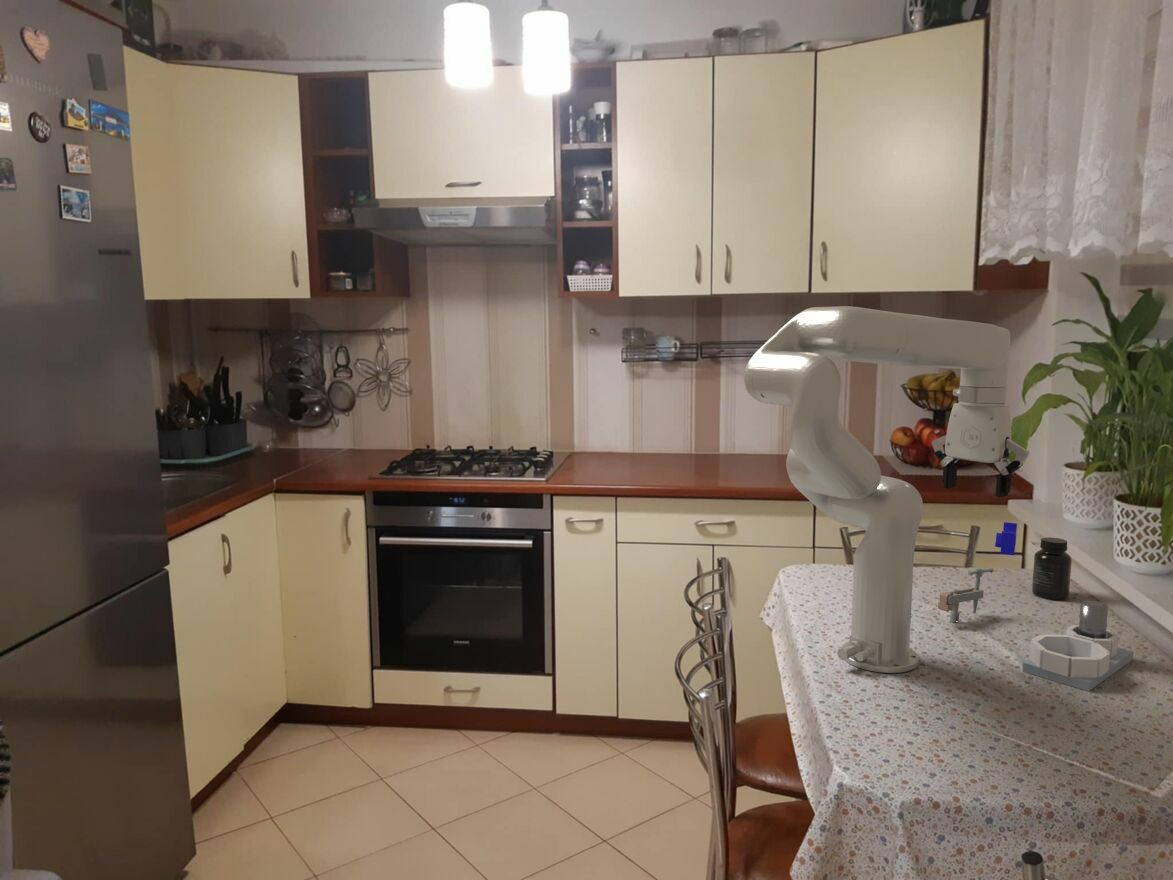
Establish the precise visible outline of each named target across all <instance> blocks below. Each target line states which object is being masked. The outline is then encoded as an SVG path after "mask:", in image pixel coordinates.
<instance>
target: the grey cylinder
mask: <svg viewBox="0 0 1173 880" xmlns="http://www.w3.org/2000/svg"><path fill="white" fill-rule="evenodd" d="M1079 605H1080V607H1079V621H1078V622H1079V624H1078V625H1079V635H1081V636H1085V637H1089V638H1093V639H1106V630H1107V627H1108V625H1107V624H1108V611H1109V605H1108V604H1106V603H1104V602H1101V601H1095V600H1082V601H1080V603H1079Z"/></svg>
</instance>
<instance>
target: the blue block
mask: <svg viewBox="0 0 1173 880" xmlns="http://www.w3.org/2000/svg"><path fill="white" fill-rule="evenodd" d="M1017 526H1018V523H1017V522H1008V521H1007V522H1006V521H1004V522H1003V530H1002V531H1001V532H996V535H995V544H994V547H995V548H1000V554H1001V555H1008V556H1015V552H1016V546H1017V545H1016V543H1017V529H1018V528H1017Z"/></svg>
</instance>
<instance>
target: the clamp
mask: <svg viewBox="0 0 1173 880" xmlns="http://www.w3.org/2000/svg"><path fill="white" fill-rule="evenodd" d="M974 569H975V570H968V572H967V574H968V576H973V575H974V576H975V584H974V587H970V588H969V587H968V588H964V589H963V588H962V589H954V590H952V591H944V592H941V593H940V594H939V602H938V605H937V609H938V610H941V611H943V612H948V613H949V611H951V612H950V617H949V622H950V623H953V622H956V621H959V620H960V612H959V606H960V603H965V602H970V601H972V602H973V603H972V608H973V609H972V613H974V614H975V613H977V607H978V604H979V603H978V602H979V600H980V599H983V598H984V590H983V589H980V585H981V577H982V576H983V574H984V573H993V572H994V571H995V570H994V568H993V567H990V568H988V569H983V568H982V567H975V568H974Z"/></svg>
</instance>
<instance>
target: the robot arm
mask: <svg viewBox="0 0 1173 880" xmlns="http://www.w3.org/2000/svg"><path fill="white" fill-rule="evenodd" d="M1010 350H1011V332H1010V331H1009V329H1007V328H1005V327H1004V326H1003V327H1002V326H998V325H996V324H993V323H992V324H991V323H983V322H979V321H970V320H961V319H953V318H944V317H943V318H941V317H934V316H926V315H921V314H911V313H901V312H895V311H887V310H881V309H874V308H867V307H866V308H865V307H859V306H848V305H843V306H840V305H839V306H815V307H814V306H813V307H809V308H805V310H802V311H801V312H799V313H798V314H796V315H795V316H793V317H792V318H791V319H789V321H788V322H786V323H785V324H784V325H782V327H781V328H779V330H778V331H777V332H776V333H775V334H774V335H772V336H771V337H770V338H769V339H768V340H767V341H766V342H765V343H764V344H763V345H762V346H761V347H760V348H758V350H757V351H756V352H754V354H753V355H752V356H751V358H750V359H749V360H748V363H747V364H746V366H745V370H744V375H743V382H744V387H745V389H746V391H747V393H748V394H749V395H750V396H751V397H752V398H753V399H754V400H756V401H757V402H760V403H764V404H769V405H776V406H777V405H778V406H785V407H790V408H791V407H792V412H791V413H792V414H791V419H790V426H789V432H788V444H789V447H790V449H789V451H788V453H787V456H786V461H785V462H786V463H785V466H786V472H787V476H788V478H789V480H790V482H791V485H793V487H795V489H797V491H799V493H801V494H802V496H804V497H805V498H806V499H807V500H809V501H810V503H812V504H813V506H815V507H816V508H817V509H818V510H820V512H822V513H823V514H824V515H826V516H827V517H829V519H831V520H834V521H835V522H838V523H842V524H843V525H844V524H845V525H847V526H851V527H855V528H858V529H861V530H865V533H864V535H863V538H861V540H860V542H859V544H858V545H857V547H856V549H855V552H854V554H853V555H854V556H853V563H852V564H853V565H852V569H853V573H852V575H853V576H852V598H851V599H852V603H851V626H850V635H849V639H848V641H847V642H845V643H844V644H842V645H841V647H840V648H839V649H837V652H836V653H837V654H836V655H837V658H839V660H840V661H845V662H846V663H848V664H849V665H852V666H853V667H855V668H859V669H862V670H865V671H870V672H875V673H883V674H896V673H897V674H898V673H899V674H900V673H906V672H910V671H912V670H914V669H917V667H918V665H919V660H920V659H919V657H920V656H919V654H918V653H917V652H916V651H915V650H914V649H912V648H910V644H911V643H910V641H911V623H912V621H911V620H912V599H913V581H914V561H915V560H914V558H915V547H916V543H917V536H918V532H919V527H920V526H921V525H920V523H921V520H922V516H923V510H924V503H923V499H922V498H923V497H922V496H921V494H920V492H919V490H918V489H917V488H916V487H915V486H914V485H912V484H911V483H909V482H907V481H904V480H902V479H899V478H895V477H891V476H886V475H882V471H881V468H880V465H879V462H878V461H877V460H876V458H875V456H874V455H873V454H872V453H871V452H870V451H869V449H867V448H866V447H865V445H863V444H862V443H861V442H860V441H859V440H858V439H857V438H856V437H855V436H854V435H853V434H852V432H850V431H849V430H848V429H847V428H846V427H845V425H844V424H843V423H842V422H841V420H840V419H839V417H840V415H839V403H840V398H841V392H842V377H841V373H840V370H839V368H838V366H837V365H836V363H835V362H834V361H833V360H836V361H837V360H838V361H844V362H845V361H847V362H855V363H856V362H857V363H865V364H866V363H867V364H877V365H888V366H895V367H896V366H897V367H899V366H900V367H911V368H912V367H913V368H915V367H917V368H918V367H919V368H920V367H921V368H922V367H936V368H939V369H955V370H959V369H960V377H959V378H960V379H959V386H958V388H954V389H952V395H953V397H957V400H958V402H954V403H953V405H952V409H951V412H950V414H949V415H950V416H949V419H948V423H947V428H946V429H947V430H946V434H945V435H943V436H940V437H939V438H935V439H933V440H931V445H932V448H933V450H934V453H935V454H934V455H935V457H936V458H937V459H938V460H939V462H940V465H941V467H943V469H942V470H943V471H942V483H943V489H947V490H948V489H953V488H955V487H956V486H957V477H958V476H957V474H958V467H957V466H958V465H955V464H957V462H958V461H959V460H962V461H963V460H964V461H971V462H978V463H985V464H994V466H995V467H996V468H997V469H998V472H999V473H998V474H997V475H996V485H995V496H996V497H997V498H1003V497H1008V495H1009V493H1010V492H1011V486H1012V475H1013V474H1015V473H1016V471H1018V470H1019V469H1020V468H1022V467H1023V465H1024V462H1026V460H1027V458H1028V457H1029V456H1030V452H1029V450H1027V449H1026V448H1024V447H1023V446H1021V445H1020V444H1018V443H1016V442H1015V441H1014V440H1012V421H1011V420H1012V419H1011V412H1010V407H1009V406H1008V405H1006V400H1007V388H1008V378H1009V377H1008V375H1009V362H1010ZM1011 452H1012V453H1014V454H1015V458H1014V460H1013V461H1011V462H1010V460H1009V459H1010V456H1011Z"/></svg>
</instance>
